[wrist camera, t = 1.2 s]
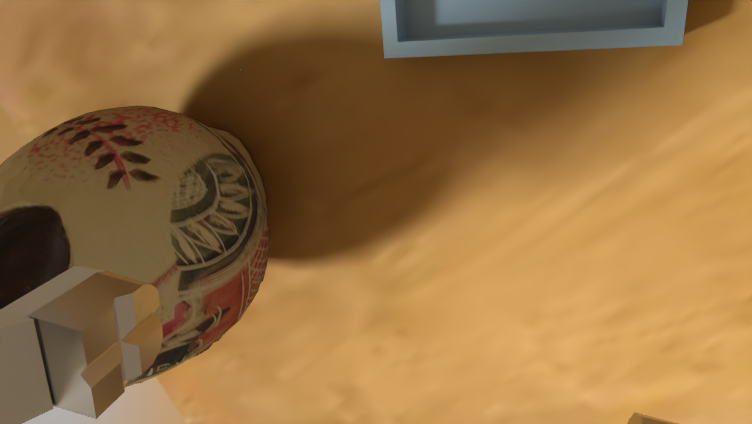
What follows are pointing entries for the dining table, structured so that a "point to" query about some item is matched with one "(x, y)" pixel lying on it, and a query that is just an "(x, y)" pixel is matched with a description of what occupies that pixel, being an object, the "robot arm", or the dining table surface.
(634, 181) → the dining table surface
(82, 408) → the robot arm
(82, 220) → the ceramic jug
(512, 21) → the tray
